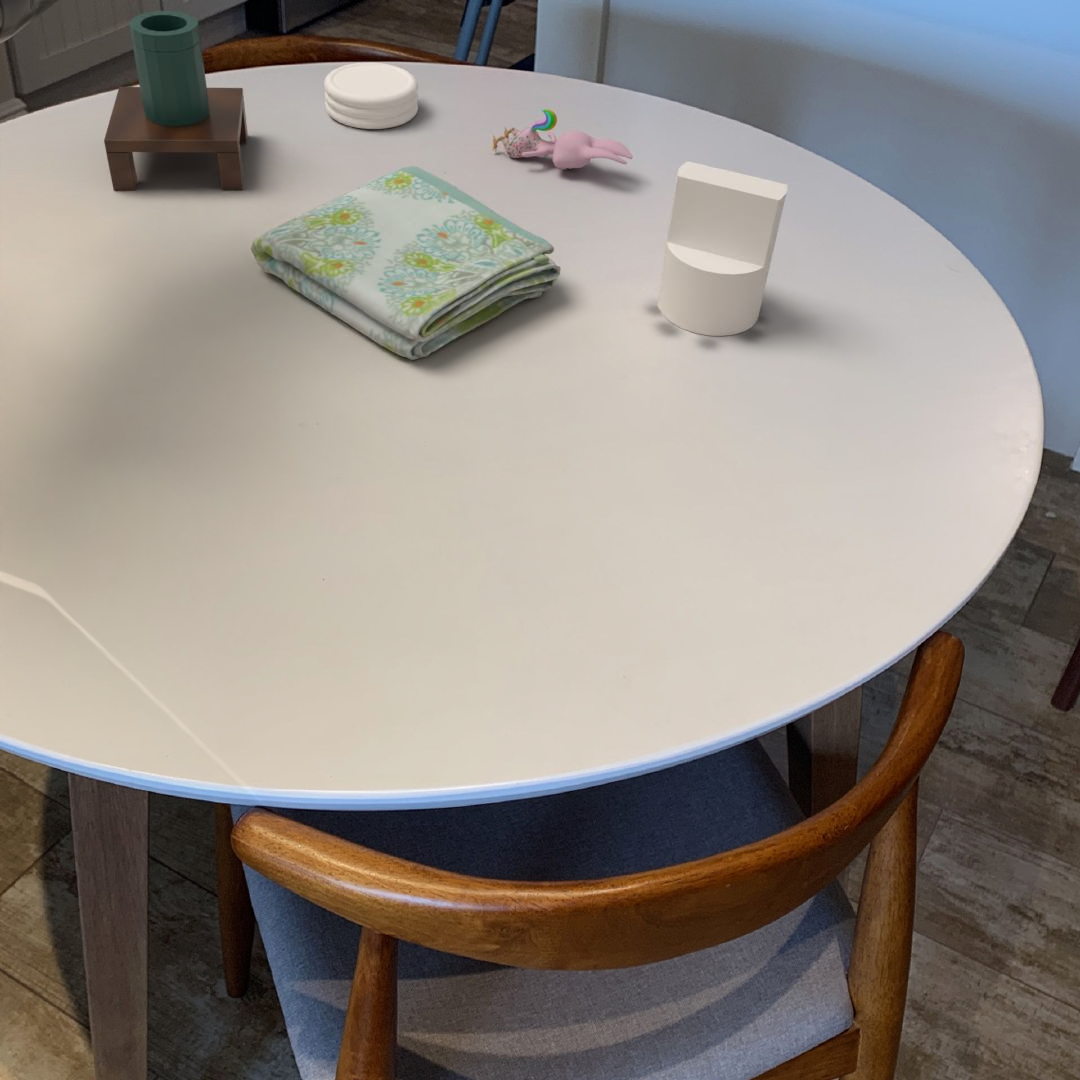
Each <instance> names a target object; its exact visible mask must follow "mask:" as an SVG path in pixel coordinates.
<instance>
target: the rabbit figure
mask: <svg viewBox="0 0 1080 1080" xmlns="http://www.w3.org/2000/svg"><path fill="white" fill-rule="evenodd" d="M540 111H542V112H543V114H544V115H545V118H543V119H539V120H537V121H534V123H533V124H532V125H531V126H530V127H524V129H522V130H518V129H517V128H516V127H515V126H514V127H511V128H510V129H508V130H507V127H506V126H503V128H504V131H503V133H504V134H503V135H500V136H499V137H498V138H496V136H495V134H492V138H493V139H492V150H491V151H492V152H493V151H494V154H495V153H497V149H498V147H499V146H498V144H499V142H501V143H502V145H503V147H504V149H505V152H506V154H507V155H508V156H509V157H511V158H513V159H520V158H531V157H537V158H545V157H548V156H551V155H552V163H553V165H554V166H555V167H556V168H558V169H561V170H563V171H565V170H568V169H567V168H572V169H581V168H583V167H585V166H587V165H588V164H589V163H590V162H591V160H593V159H607V160H611V161H614V162H616V163H619V164H622V165H627V163H628V162H627V160H625V159H623V158H626V159H629V160H632V159H633V158H634V157H633V154H632V152H631V151H630V150H629V149H628V147H626V146H625V144H623V143H622V142H620V141H617V140H614V139H611V138H594V137H592V136H591V135H590V134H588V133H586V132H584V131H581V130H567V131H565V132H563V133H561V134H560V135H559V136H558V137H557V136H556V135H555V134H554V132H553V131H551V130H553V129H554V128H555V127H556V126H557V123H558V117H557V114H556V113H555V112H554V111H553V110H551V109H546V108H545V109H541V110H540ZM538 131H542V132H547V131H548V134H547V136H548V137H549V138H550V139H549V140H546V139H543V138H542V137H541V136H540V134H539V133H538ZM510 134H512V136H513V137H509V135H510ZM622 157H623V158H622ZM572 169H569V170H571V171H572Z"/></svg>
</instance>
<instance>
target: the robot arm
mask: <svg viewBox="0 0 1080 1080" xmlns="http://www.w3.org/2000/svg"><path fill="white" fill-rule="evenodd" d="M57 1H58V0H0V44H3V43H4V42H6V41H8V40H10V39H12V37H14V36H15V35H16V34H18V33H19V32H20V31H21V30H23V29H24V28H25V27H26V26H28V25H29V24H31V23H32V22H33V21H34V20H36V19H37V18H38V17H39V16H41V15H42V14H43V13H44V12H46V11H47V10H48V9H49V8H51V7H52V6H54V4H55V3H56V2H57Z"/></svg>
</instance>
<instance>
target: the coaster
mask: <svg viewBox="0 0 1080 1080" xmlns="http://www.w3.org/2000/svg"><path fill="white" fill-rule="evenodd" d="M323 81H324V82H323V88H324V90H325V91H324V99H325V103H324V107H325V110H326V113H327V114H328V115H329V116H330V117H331V118H332V119H333V120H334V121H336V122H338V123H340V124H343V125H345V126H348V127H352V128H356V129H363V130H383V129H390V128H395V127H398V126H402V125H404V124H406V123H409V121H411V120H412V119H414V117H415V116H416V115H417V113H418V111H419V103H418V100H419V95H418V89H419V84H418V81H417V79H416V77H415V76H414V75H413V74H412V73H411V72H409V71H407V70H406V69H404V68H402V67H399V66H396V65H392V64H388V63H383V62H382V63H381V62H355V63H349V64H345V65H341V66H339V67H337V68H335V69H333V70H331V71H330V72H329V73H328V74H327V75H326V77H325V78H324V80H323Z"/></svg>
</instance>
